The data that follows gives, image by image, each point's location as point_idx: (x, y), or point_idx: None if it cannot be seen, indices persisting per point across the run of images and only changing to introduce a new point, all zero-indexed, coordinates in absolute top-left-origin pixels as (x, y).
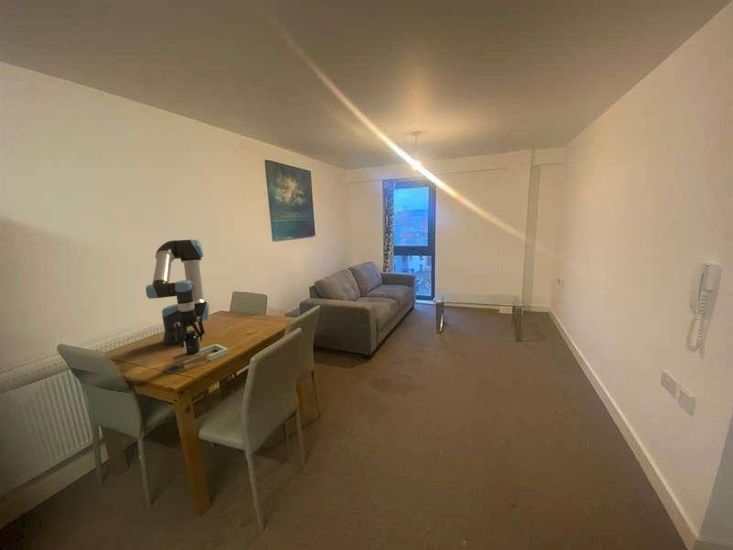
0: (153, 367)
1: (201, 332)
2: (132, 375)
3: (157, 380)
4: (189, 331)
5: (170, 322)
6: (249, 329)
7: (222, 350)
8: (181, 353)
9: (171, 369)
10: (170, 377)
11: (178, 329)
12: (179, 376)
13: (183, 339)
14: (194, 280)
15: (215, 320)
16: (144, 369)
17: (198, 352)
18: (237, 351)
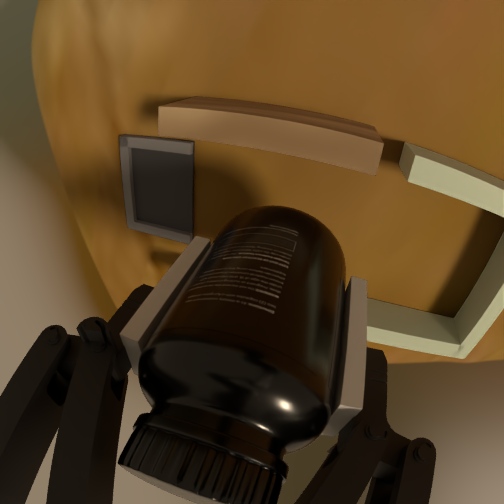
0: (105, 39)
1: (384, 473)
2: (35, 64)
3: (85, 226)
4: (193, 496)
5: None
6: None
7: (438, 348)
8: (235, 128)
9: (148, 183)
10: (125, 256)
11: (17, 490)
12: (154, 286)
13: (119, 396)
14: None
15: None
16: (74, 29)
17: (408, 156)
18: (483, 348)
